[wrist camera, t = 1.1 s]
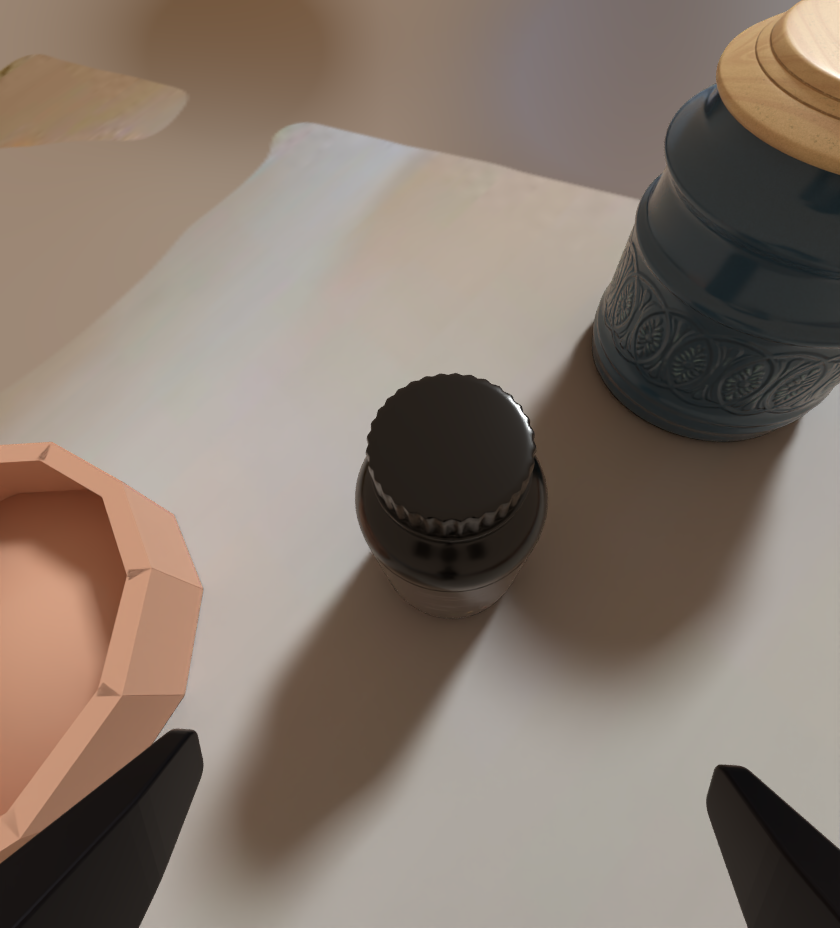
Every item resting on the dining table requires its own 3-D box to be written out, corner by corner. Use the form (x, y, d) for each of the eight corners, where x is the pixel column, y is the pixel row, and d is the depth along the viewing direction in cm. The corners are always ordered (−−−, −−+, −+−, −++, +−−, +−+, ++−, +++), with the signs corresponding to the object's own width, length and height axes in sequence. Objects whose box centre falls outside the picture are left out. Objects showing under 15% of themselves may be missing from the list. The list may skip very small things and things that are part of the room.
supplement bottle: (372, 508, 25) (314, 368, 14) (492, 478, 25) (526, 320, 14) (399, 639, 22) (352, 589, 11) (536, 602, 22) (621, 519, 11)
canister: (612, 263, 32) (772, -153, 16) (816, 310, 29) (1253, -141, 13) (561, 405, 27) (722, 3, 11) (802, 480, 24) (1484, 78, 8)
